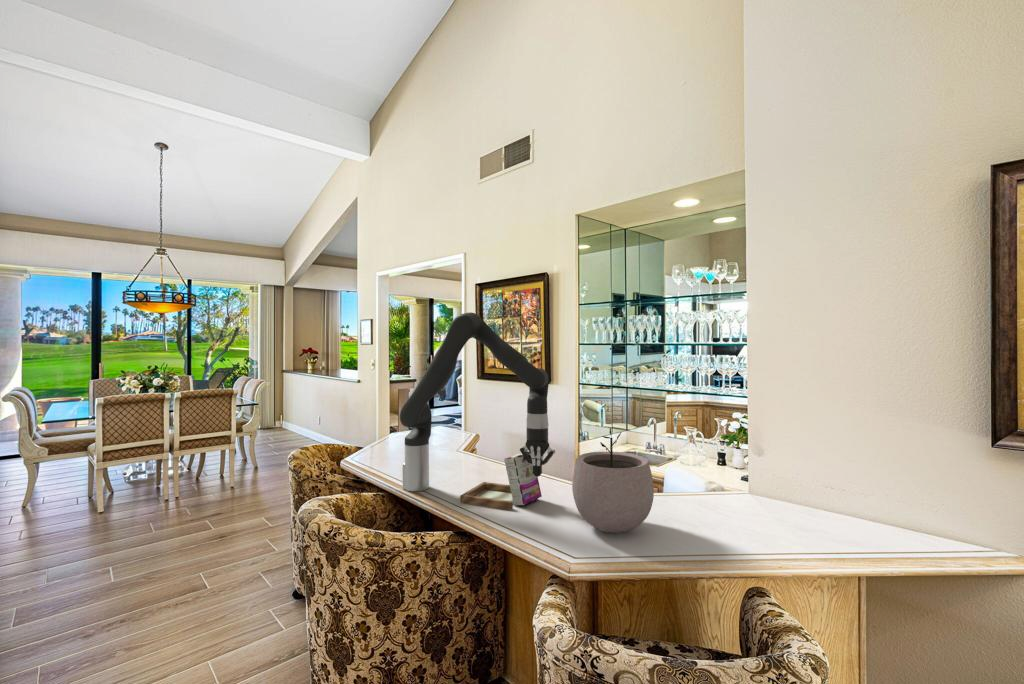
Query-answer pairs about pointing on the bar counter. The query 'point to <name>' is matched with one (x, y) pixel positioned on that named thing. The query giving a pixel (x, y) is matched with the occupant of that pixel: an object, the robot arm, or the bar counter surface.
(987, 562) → the bar counter surface
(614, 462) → the plant pot
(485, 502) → the keeper frame
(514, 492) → the candy bar box
